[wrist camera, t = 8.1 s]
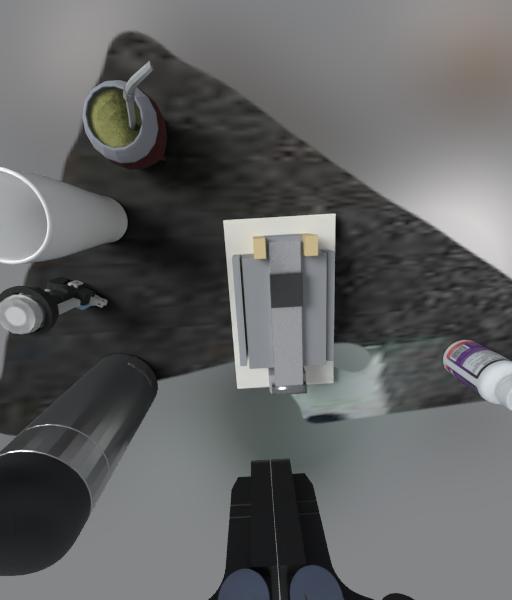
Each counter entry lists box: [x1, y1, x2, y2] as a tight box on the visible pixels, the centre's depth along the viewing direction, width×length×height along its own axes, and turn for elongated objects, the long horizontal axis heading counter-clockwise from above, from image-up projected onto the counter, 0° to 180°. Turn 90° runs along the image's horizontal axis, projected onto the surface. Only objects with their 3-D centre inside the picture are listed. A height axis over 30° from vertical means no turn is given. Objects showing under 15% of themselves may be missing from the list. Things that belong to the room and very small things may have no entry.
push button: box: [0, 277, 107, 339], centre depth 32 cm, size 7×5×10 cm
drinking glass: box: [0, 167, 128, 264], centre depth 27 cm, size 7×7×15 cm
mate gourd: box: [83, 61, 170, 169], centre depth 25 cm, size 8×8×15 cm
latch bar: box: [268, 240, 307, 395], centre depth 32 cm, size 18×4×2 cm, turn 3°
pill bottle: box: [443, 340, 512, 411], centre depth 35 cm, size 5×5×10 cm
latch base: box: [223, 214, 336, 393], centre depth 34 cm, size 22×13×7 cm, turn 3°
